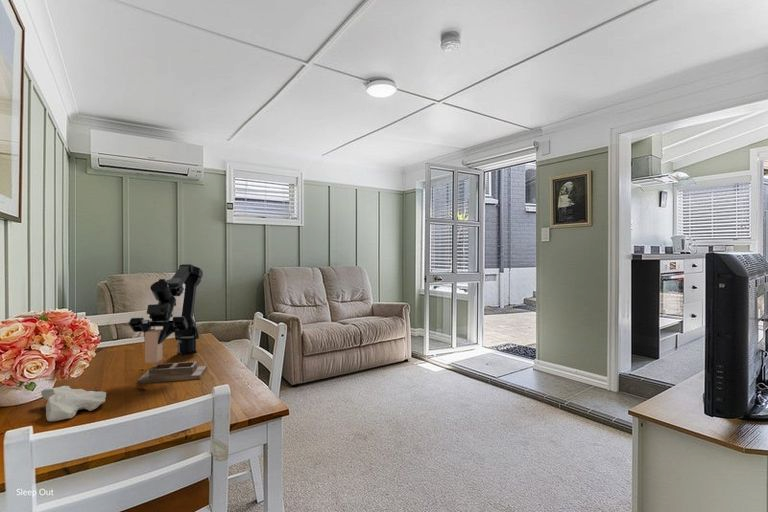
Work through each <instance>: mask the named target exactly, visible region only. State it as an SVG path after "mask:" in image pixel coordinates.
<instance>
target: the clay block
mask: <svg viewBox="0 0 768 512" xmlns="http://www.w3.org/2000/svg"><path fill="white" fill-rule="evenodd" d="M162 330H163V328H161V329H151V330H149V331H147V332H145V340H144V363H145V364H151V363H153V364H154V363H155V364H157V363H159V362H161V361H162V360H163V342H162V343H160V344H158V340H159V337H160V335H161V332H162Z"/></svg>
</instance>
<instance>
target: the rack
mask: <svg viewBox="0 0 768 512" xmlns="http://www.w3.org/2000/svg"><path fill="white" fill-rule="evenodd" d="M207 369H208V366H207V365H199V366H198V361H197V360H196V361H185V362H169V363H168V362H166V363H155V364H154V365H153V366H152V367H151V368H150V369H148V370H147V371H146V372H145V373H143V375H141V376H140V377H138V379H136V384H148V383H160V382H161V383H162V382H163V383H164V382H173V381H174V382H175V381H186V380H199V379H201V378H202V377H203V375H204V374H205V372H206V371H207ZM205 370H206V371H205Z"/></svg>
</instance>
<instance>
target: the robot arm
mask: <svg viewBox="0 0 768 512" xmlns="http://www.w3.org/2000/svg"><path fill="white" fill-rule="evenodd" d="M203 274H204V273H203V269H201V268H200V267H197V266H195V265H193V264H191V263H189V264H188V263H186V264H185V263H182V264H179V267H178V269H177V271H176V272H175V273H174V275H173V276H172V277H171V278H170V279H167V280H166V279H165V278H159V279H158V281H155V282H153V283H152V284H150V287H149V288H150V289H149V290H150V291H151V293H152V295H153V296H154V299H155V300H156V301H157V302H158V303H156V304H147V309H146V314H147V315H149V316H148V317H149V319H144V317H132V318H130V320H129V321H128V325H129V327H130V328H131V329H132V331H133V332H134V333H141V332H143V337H144V341H145V332H147V331H149V330H152V328H156V327H157V328H160V327H162V332H161V335H160V337H159V340H158V344H160V343H162V344H163V342H164V341H165V340H166V339H167V338H168V337H169V336H171V335H172V334H173V333H174V339H175V341H178V342H177V352H178V353H177V352H176V353H177V354H180V355H182V354H185V355H188V354H187V353H190V354H193V353H192V352H195V353H197V352H196V351H198V350H197V340H198V339H200V332H199V329H198V327H197V322H196V321H195V318H194V310H195V304H196V303H195V302H196V294H197V287H198V286H199V285H200V284H201V282H202V278H203V276H204V275H203ZM183 285H184V286H183ZM182 294H183V303H182V310H181V316H174V315H173V312H174V311H173V310H174V308H175V307H176V306H177V299H176V297H180V296H181V295H182ZM171 318H172V320H170V319H171Z"/></svg>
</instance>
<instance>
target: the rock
mask: <svg viewBox="0 0 768 512" xmlns="http://www.w3.org/2000/svg"><path fill="white" fill-rule="evenodd" d="M40 393H41V394H40V395H41V396H42V397H43V398H44V399H45V400H47V402H46V405H45V411H46V412H45V416H46V418H45V419H46V420H47V421H48V422H57V421H61V420H66V419H72V418H73V417H75V416H76V414H77V412H78V411H80V410H88V411H89V412H92V411H94V410H95V409H97V408H98V407H99V406H100V405H102V404H104V403H105V402H106V398H107V392H106V391H93V390H89V391H88V390H85V389H83V388H77V389H76V388H71V387H70V386H69V385H62V386H58V387H52V388H45V389H43V390H41V391H40Z"/></svg>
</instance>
